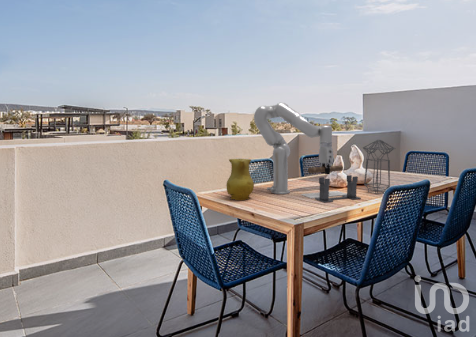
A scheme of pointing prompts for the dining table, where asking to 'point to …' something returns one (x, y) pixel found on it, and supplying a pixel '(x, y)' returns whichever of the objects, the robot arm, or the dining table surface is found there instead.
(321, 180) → the rack
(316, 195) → the mat
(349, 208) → the dining table surface
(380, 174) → the geometric lantern
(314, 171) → the rod
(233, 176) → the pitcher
